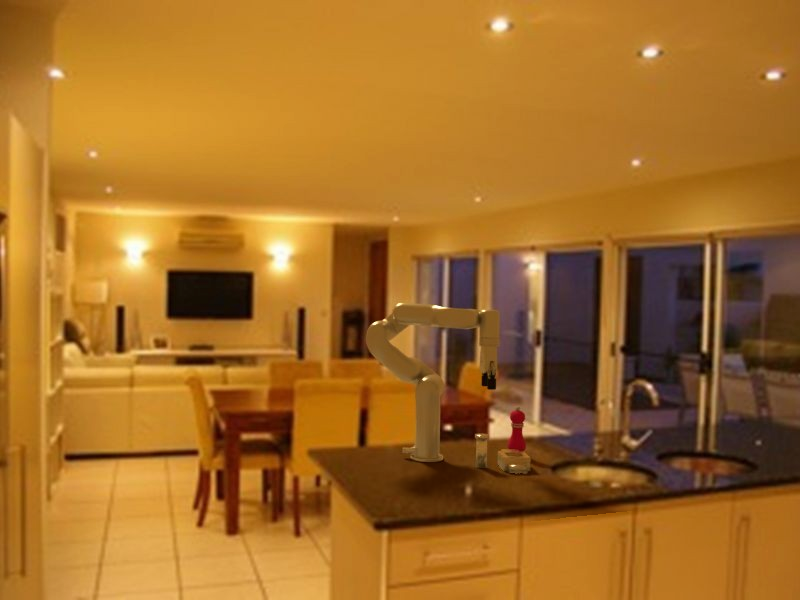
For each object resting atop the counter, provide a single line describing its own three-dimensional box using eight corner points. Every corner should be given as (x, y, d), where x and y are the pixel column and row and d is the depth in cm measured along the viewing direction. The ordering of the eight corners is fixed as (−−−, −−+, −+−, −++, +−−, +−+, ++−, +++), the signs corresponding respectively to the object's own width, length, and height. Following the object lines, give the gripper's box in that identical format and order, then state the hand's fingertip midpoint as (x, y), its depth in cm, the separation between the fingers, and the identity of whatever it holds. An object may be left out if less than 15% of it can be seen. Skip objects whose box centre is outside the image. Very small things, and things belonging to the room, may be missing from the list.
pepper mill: (525, 459, 267) (527, 408, 267) (506, 458, 268) (508, 407, 268) (525, 455, 274) (527, 405, 274) (507, 454, 276) (509, 404, 275)
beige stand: (504, 473, 245) (505, 459, 245) (495, 462, 262) (496, 449, 262) (532, 474, 245) (532, 460, 245) (521, 462, 262) (521, 449, 262)
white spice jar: (475, 469, 250) (476, 436, 250) (473, 465, 255) (474, 433, 255) (489, 469, 250) (490, 436, 250) (487, 465, 256) (487, 433, 256)
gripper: (474, 340, 268) (474, 384, 268) (484, 343, 250) (483, 390, 250) (493, 341, 268) (493, 384, 268) (504, 344, 251) (504, 390, 251)
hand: (488, 387), depth 259 cm, fingers open, 9 cm apart
